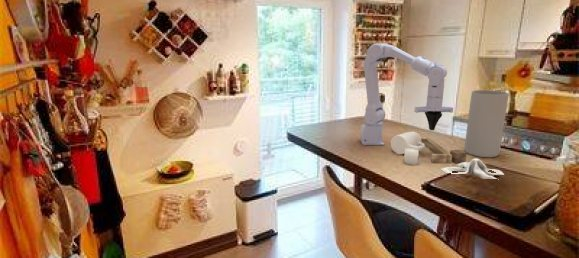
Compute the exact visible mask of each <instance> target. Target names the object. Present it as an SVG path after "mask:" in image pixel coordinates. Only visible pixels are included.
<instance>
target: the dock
mask: <svg viewBox="0 0 579 258" xmlns="http://www.w3.org/2000/svg"><path fill="white" fill-rule="evenodd" d="M421 140H422V143H424V144H425V147H427V148H428V149H429V150H430V151H431V152H433V153H431V158H430V162H431V163H433V164H434V163H436V164H437V163H439V164H440V163H441V164H443V163H444V164H445V163H446V164H447V163H448V164H449V163H450V164H451V163H452V155H451V154H450V151H447V150H446V149H445V148H443V146H441V145H440V144H438V143H437V142H436V141H434V140H433V139H432V138H430V137H421Z"/></svg>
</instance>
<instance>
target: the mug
mask: <svg viewBox="0 0 579 258" xmlns="http://www.w3.org/2000/svg"><path fill="white" fill-rule="evenodd" d="M421 138H422V137H421V135H420V134H419V133H417V131H407V132H403V133H400V134H396V135H394V136H393V137H392V138H391V140H390V146H391V149H392V151H393V152H394V153H395V154H398V155H403V154H405V149H406V148H415V149H418V150H419V151H420V150H423V149H425V147H426V145H425V144H424V143H422V140H421Z"/></svg>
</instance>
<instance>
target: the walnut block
mask: <svg viewBox="0 0 579 258" xmlns="http://www.w3.org/2000/svg"><path fill="white" fill-rule="evenodd" d="M449 153H450V154H451V155H452V161H451V163H452V162H453V163H454V164H460V163H463V162H467V154H468V153H467V152H466V151H465V150H464V151H463V150H461V149H451V150H449Z"/></svg>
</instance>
